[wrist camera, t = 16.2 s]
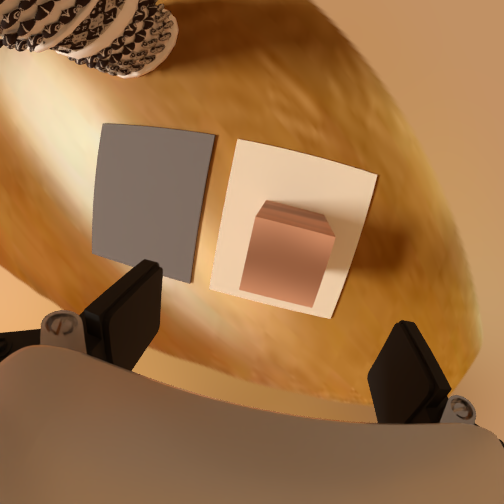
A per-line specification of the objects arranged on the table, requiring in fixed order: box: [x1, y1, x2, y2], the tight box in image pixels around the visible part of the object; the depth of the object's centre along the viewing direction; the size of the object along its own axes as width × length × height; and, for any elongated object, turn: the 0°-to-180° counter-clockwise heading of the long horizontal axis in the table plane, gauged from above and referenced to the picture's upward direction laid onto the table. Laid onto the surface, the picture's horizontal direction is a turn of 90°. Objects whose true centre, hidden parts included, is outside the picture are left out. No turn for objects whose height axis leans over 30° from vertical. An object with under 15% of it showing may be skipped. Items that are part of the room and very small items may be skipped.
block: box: [239, 200, 336, 308], centre depth 21 cm, size 5×5×7 cm
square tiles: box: [92, 124, 377, 319], centre depth 25 cm, size 14×26×1 cm, turn 78°
